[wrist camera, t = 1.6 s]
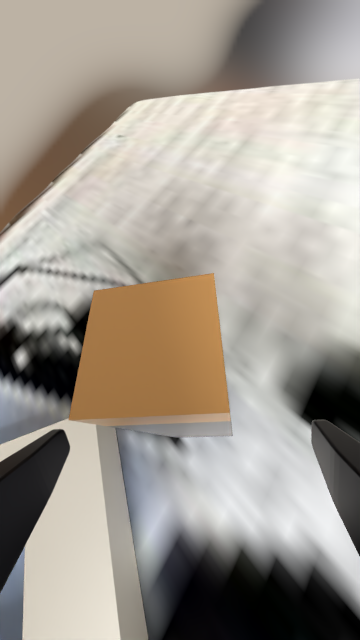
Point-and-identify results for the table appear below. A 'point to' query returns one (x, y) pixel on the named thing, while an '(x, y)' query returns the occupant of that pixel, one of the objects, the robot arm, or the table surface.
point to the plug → (154, 360)
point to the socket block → (82, 546)
